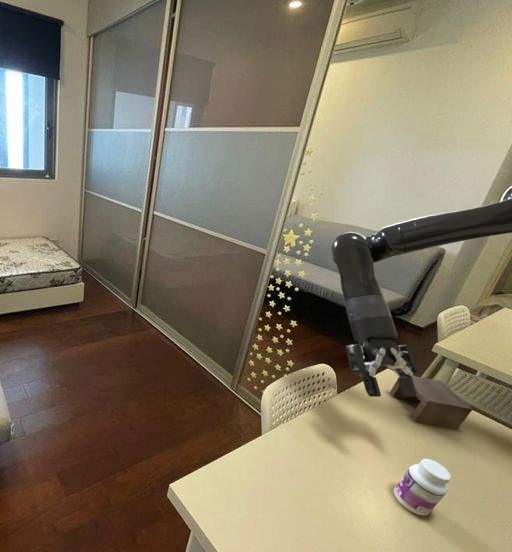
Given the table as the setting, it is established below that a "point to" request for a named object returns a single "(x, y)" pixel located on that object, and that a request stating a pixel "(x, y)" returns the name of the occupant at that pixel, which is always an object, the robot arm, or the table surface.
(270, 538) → the table surface
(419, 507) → the pill bottle
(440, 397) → the shelf
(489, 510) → the table surface
